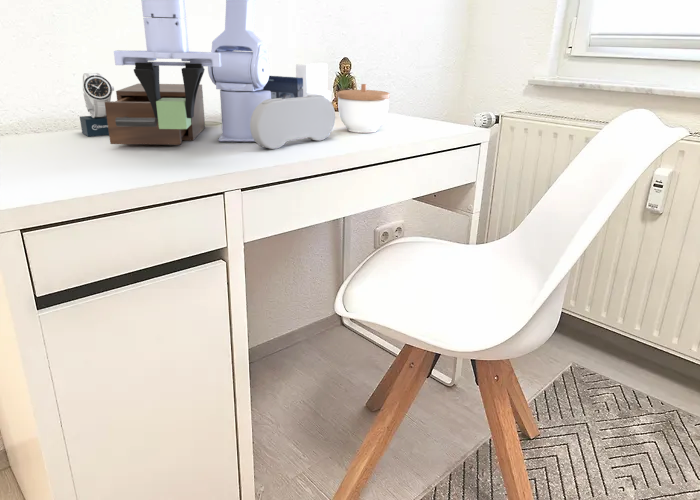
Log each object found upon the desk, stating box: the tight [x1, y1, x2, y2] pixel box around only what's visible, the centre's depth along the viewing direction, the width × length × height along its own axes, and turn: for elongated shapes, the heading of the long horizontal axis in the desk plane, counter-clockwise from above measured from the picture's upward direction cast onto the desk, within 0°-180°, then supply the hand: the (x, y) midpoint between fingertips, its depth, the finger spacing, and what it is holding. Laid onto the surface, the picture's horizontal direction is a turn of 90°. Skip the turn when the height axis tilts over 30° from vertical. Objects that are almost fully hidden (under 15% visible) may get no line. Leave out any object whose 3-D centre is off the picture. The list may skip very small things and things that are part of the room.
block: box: [156, 98, 191, 129], centre depth 81 cm, size 4×4×4 cm
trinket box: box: [336, 83, 391, 134], centre depth 113 cm, size 11×11×9 cm
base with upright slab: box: [295, 62, 332, 103], centre depth 129 cm, size 9×9×12 cm
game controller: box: [250, 95, 336, 150], centre depth 98 cm, size 20×2×8 cm, turn 140°
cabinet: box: [115, 83, 206, 141], centre depth 105 cm, size 15×13×9 cm
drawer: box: [105, 96, 188, 146], centre depth 94 cm, size 18×11×7 cm, turn 5°
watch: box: [79, 72, 115, 138], centre depth 102 cm, size 6×8×11 cm
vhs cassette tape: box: [262, 75, 303, 99], centre depth 120 cm, size 18×3×10 cm, turn 64°
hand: (174, 117), depth 81 cm, fingers closed on block, 4 cm apart
